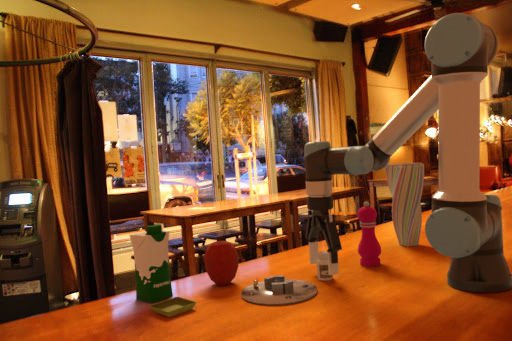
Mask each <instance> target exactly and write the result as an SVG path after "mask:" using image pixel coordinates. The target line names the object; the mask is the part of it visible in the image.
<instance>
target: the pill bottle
mask: <svg viewBox="0 0 512 341" xmlns="http://www.w3.org/2000/svg"><path fill="white" fill-rule="evenodd" d="M318 258H319V259H318V260H317V264H316V273H317V274H316V275H317V280H319V281H324V282H325V281H327V282H328V281H332V280H333V279H334V275H329V271H328V252H327V250H322V251H319V252H318Z"/></svg>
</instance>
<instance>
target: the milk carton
mask: <svg viewBox="0 0 512 341" xmlns="http://www.w3.org/2000/svg"><path fill="white" fill-rule="evenodd" d="M162 227H163V226H162V224H150V225H146V226H145V228H146V231H145V230H144V231H142V232H137V233H132V234H129V238H130V241H131V245H132V249H133V257H134V258H133V260H134V271H135V273H134V274H135V286H136V287H135V289H136V290H135V293H136V295H135V297H136V298H135V300H137V301H141V302H145V303H149V304H151V305H152V304H156V303H159V302H162V301H164V300H165V299H166V300H167V299H170V298H171V297H172V298H173V296H174V295H173V294H174V293H173V288H172V287H173V286H172V280H171V269H170V258H169V257H170V255H169V254H170V253H169V239H170V237H169V236H170V231H169V230H168V231H167V230H163V229H162Z"/></svg>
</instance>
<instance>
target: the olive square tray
mask: <svg viewBox="0 0 512 341" xmlns="http://www.w3.org/2000/svg"><path fill="white" fill-rule="evenodd" d="M197 303H198V302H197V301H194V300H191V299H188V298H184V297H180V296H174V297H172V298H171V297H170V298H167V299H166V300H165V299H164V300H161V301H158V302H155V303H153V304H152V303H151V304H150V305H148V307H149V308H150V309H151V310H152V311H153V312H154V313H156V314H159V315H162V316H165V317H168V318H171V317H175V316H178V315H180V314H183V313H186V312H189V311H191V310H193V308H194V307H195V306H196V304H197Z"/></svg>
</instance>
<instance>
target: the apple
mask: <svg viewBox="0 0 512 341" xmlns="http://www.w3.org/2000/svg"><path fill="white" fill-rule="evenodd" d="M203 260H204V266H205V267H204V269H205V271H206V273H207V275H208V277H209V279H210V281H212V283H214V284H215V285H217V286H219V287H224V286H227V285H229V284H230V283H232V281H233V280H234V279H235V278H236V275H237V271H238V269H239V253H238V251H237V248H236V247H235V245H234V244H233V243H232V242H230V241H226V240H221V237H220V236H219V240H216V241H214V242H211V243H210V244H209V245H208V247H207V248H206V249H205V254H204V258H203Z"/></svg>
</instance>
